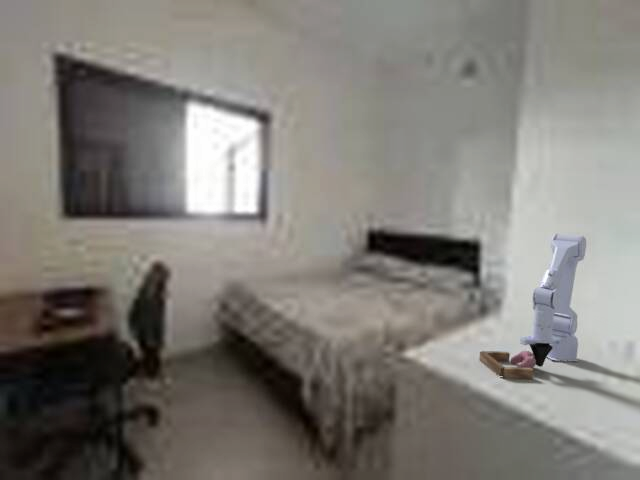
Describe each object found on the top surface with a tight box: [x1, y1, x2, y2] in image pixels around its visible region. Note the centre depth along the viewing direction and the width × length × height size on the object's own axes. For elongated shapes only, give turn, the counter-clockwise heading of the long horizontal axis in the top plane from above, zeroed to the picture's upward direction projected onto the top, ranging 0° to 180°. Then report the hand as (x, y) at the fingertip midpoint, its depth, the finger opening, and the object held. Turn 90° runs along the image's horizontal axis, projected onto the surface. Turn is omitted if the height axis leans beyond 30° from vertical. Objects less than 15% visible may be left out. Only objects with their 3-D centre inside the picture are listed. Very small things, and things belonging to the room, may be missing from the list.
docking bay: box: [479, 350, 535, 380], centre depth 141 cm, size 10×16×3 cm, turn 4°
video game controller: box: [510, 349, 537, 369], centre depth 142 cm, size 10×5×7 cm, turn 167°
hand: (538, 365), depth 142 cm, fingers closed
